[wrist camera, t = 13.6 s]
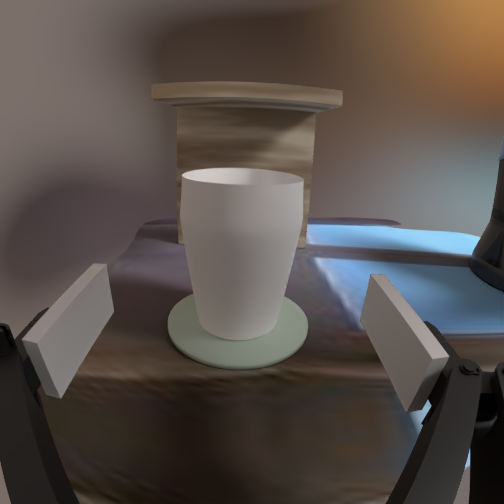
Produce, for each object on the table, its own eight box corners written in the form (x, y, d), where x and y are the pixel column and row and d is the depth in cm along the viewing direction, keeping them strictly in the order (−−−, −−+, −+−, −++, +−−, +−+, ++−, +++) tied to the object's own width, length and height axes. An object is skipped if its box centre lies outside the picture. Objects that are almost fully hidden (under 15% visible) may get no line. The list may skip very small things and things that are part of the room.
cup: (170, 342, 23) (159, 182, 18) (200, 288, 31) (199, 166, 27) (290, 357, 22) (310, 190, 17) (291, 297, 30) (303, 172, 26)
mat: (329, 315, 28) (329, 311, 28) (255, 394, 19) (255, 389, 19) (227, 279, 34) (227, 275, 34) (140, 325, 25) (139, 320, 25)
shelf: (323, 287, 33) (342, 91, 26) (156, 281, 33) (152, 84, 25) (303, 244, 46) (313, 102, 38) (180, 240, 45) (180, 98, 38)
